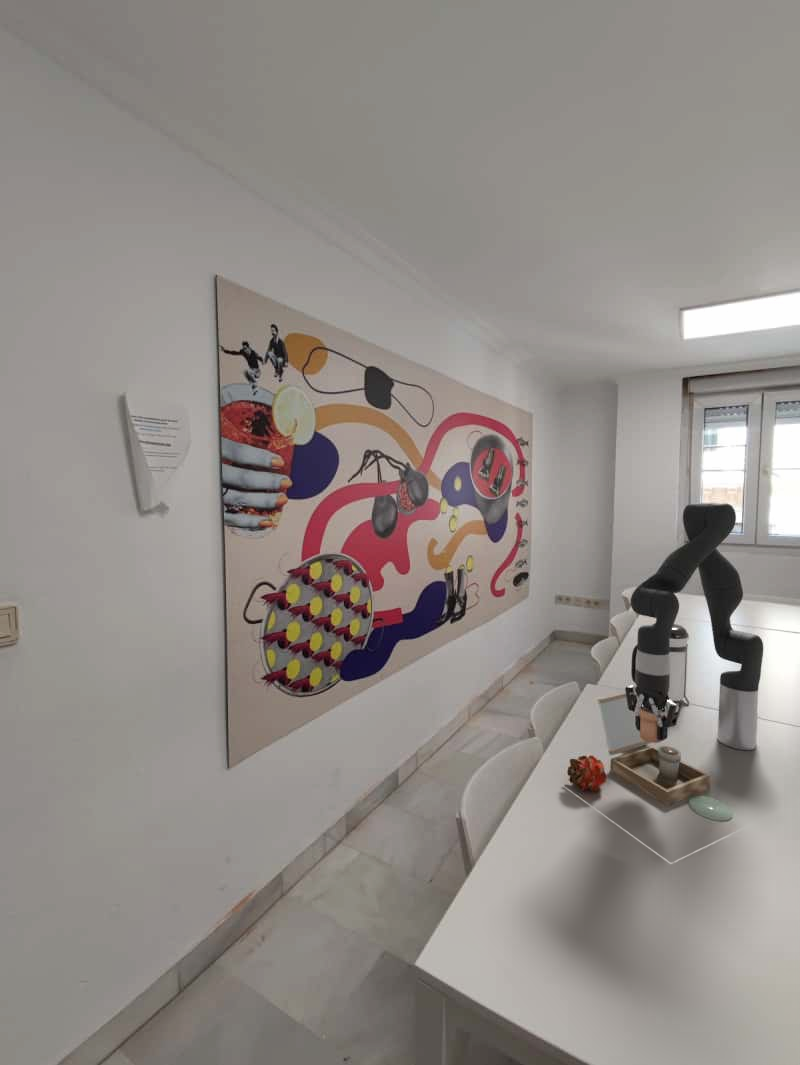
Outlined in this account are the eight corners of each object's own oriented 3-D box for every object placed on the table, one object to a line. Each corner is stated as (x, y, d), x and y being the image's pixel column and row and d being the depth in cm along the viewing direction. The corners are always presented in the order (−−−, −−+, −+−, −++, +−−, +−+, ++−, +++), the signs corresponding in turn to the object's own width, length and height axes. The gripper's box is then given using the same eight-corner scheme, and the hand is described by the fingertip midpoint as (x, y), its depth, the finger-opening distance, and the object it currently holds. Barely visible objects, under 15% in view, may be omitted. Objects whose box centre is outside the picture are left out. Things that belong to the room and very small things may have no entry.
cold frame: (630, 747, 139) (632, 705, 138) (709, 789, 118) (711, 741, 118) (590, 759, 132) (591, 716, 131) (667, 806, 111) (669, 755, 111)
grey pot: (665, 768, 127) (666, 743, 127) (684, 778, 123) (685, 752, 122) (652, 772, 125) (653, 747, 125) (671, 783, 120) (672, 757, 120)
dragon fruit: (570, 802, 115) (593, 789, 124) (600, 794, 111) (622, 781, 119) (554, 765, 119) (577, 755, 128) (582, 755, 115) (604, 746, 123)
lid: (650, 742, 132) (648, 742, 133) (638, 690, 135) (636, 690, 136) (611, 755, 126) (609, 754, 126) (600, 699, 129) (597, 699, 130)
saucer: (703, 795, 116) (703, 792, 116) (740, 815, 108) (740, 812, 108) (680, 804, 112) (681, 801, 112) (717, 826, 105) (717, 823, 105)
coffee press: (648, 687, 184) (651, 610, 182) (695, 699, 172) (698, 617, 170) (629, 699, 172) (632, 617, 170) (678, 714, 161) (682, 626, 159)
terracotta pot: (648, 730, 124) (648, 702, 123) (669, 740, 118) (670, 711, 118) (632, 735, 121) (633, 707, 121) (653, 745, 116) (654, 716, 115)
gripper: (690, 675, 114) (688, 744, 115) (637, 657, 127) (635, 719, 128) (669, 681, 111) (667, 751, 112) (617, 662, 123) (616, 725, 125)
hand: (650, 734), depth 120 cm, fingers closed on terracotta pot, 5 cm apart
